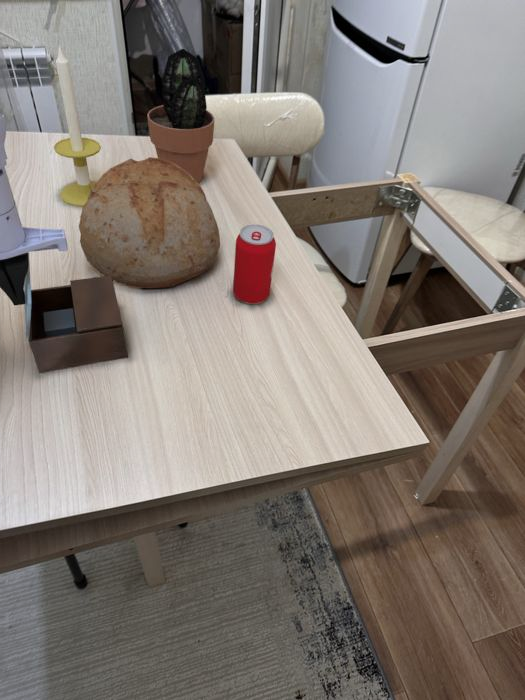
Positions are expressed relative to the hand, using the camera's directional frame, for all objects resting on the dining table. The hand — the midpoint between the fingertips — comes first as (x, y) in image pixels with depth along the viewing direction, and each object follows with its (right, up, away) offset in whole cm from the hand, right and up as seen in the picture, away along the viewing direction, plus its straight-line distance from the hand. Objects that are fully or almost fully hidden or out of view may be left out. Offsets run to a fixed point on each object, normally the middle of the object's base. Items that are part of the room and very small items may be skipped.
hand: (19, 300), depth 63 cm
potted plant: (+14, +32, +46) cm, 58 cm away
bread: (+11, +12, +26) cm, 30 cm away
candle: (-5, +25, +37) cm, 45 cm away
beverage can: (+30, +3, +19) cm, 35 cm away
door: (+1, +1, 0) cm, 2 cm away
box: (+5, -5, +8) cm, 11 cm away
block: (+3, -5, +7) cm, 9 cm away
